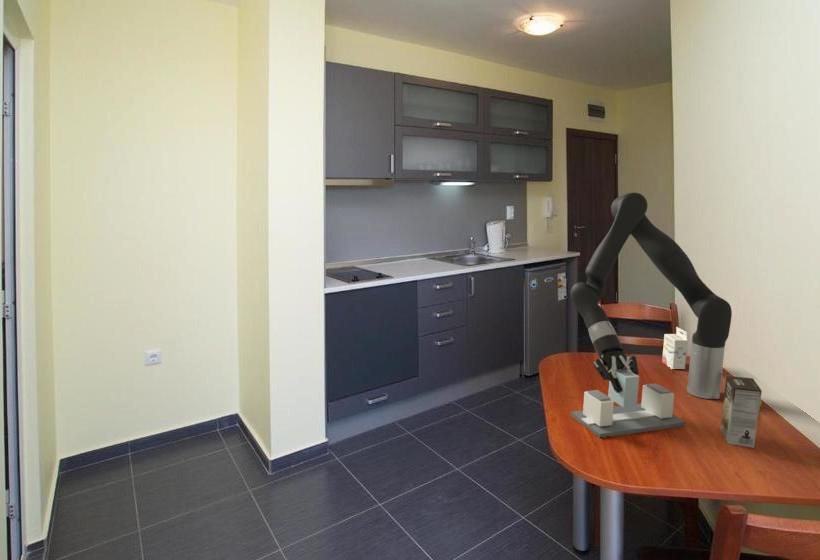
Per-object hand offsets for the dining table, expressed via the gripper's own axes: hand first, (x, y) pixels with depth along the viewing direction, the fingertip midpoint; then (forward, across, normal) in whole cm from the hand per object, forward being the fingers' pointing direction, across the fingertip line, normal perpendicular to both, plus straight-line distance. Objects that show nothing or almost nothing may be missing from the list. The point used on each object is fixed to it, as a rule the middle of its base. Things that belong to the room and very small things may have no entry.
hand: (627, 390), depth 140 cm
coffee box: (+18, +22, -5) cm, 29 cm away
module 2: (+6, +10, +5) cm, 13 cm away
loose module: (+2, 0, +4) cm, 5 cm away
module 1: (+6, -10, +5) cm, 12 cm away
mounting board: (+7, 0, +6) cm, 9 cm away
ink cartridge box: (-18, +48, +31) cm, 60 cm away
